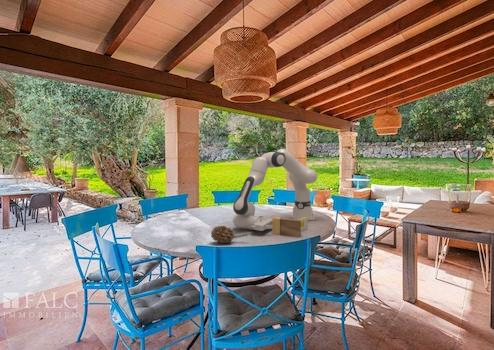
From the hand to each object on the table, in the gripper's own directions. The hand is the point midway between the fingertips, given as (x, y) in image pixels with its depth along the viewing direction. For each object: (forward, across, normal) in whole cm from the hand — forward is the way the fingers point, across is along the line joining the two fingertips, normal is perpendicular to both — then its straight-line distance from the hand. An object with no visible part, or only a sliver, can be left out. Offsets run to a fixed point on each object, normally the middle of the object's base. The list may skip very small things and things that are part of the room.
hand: (275, 225), depth 179 cm
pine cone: (-17, -28, +6) cm, 33 cm away
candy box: (+13, +12, +6) cm, 18 cm away
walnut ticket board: (+10, 0, +5) cm, 11 cm away
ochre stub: (+1, 0, +5) cm, 5 cm away
